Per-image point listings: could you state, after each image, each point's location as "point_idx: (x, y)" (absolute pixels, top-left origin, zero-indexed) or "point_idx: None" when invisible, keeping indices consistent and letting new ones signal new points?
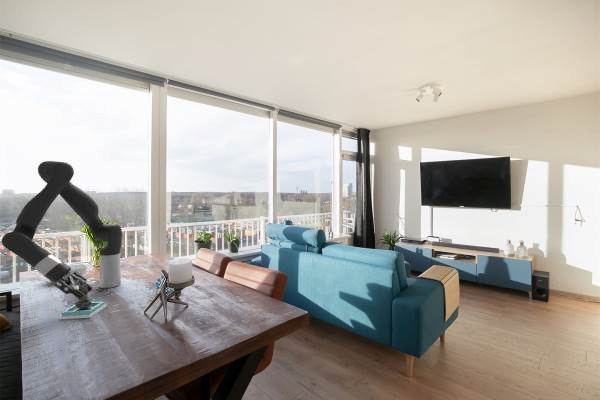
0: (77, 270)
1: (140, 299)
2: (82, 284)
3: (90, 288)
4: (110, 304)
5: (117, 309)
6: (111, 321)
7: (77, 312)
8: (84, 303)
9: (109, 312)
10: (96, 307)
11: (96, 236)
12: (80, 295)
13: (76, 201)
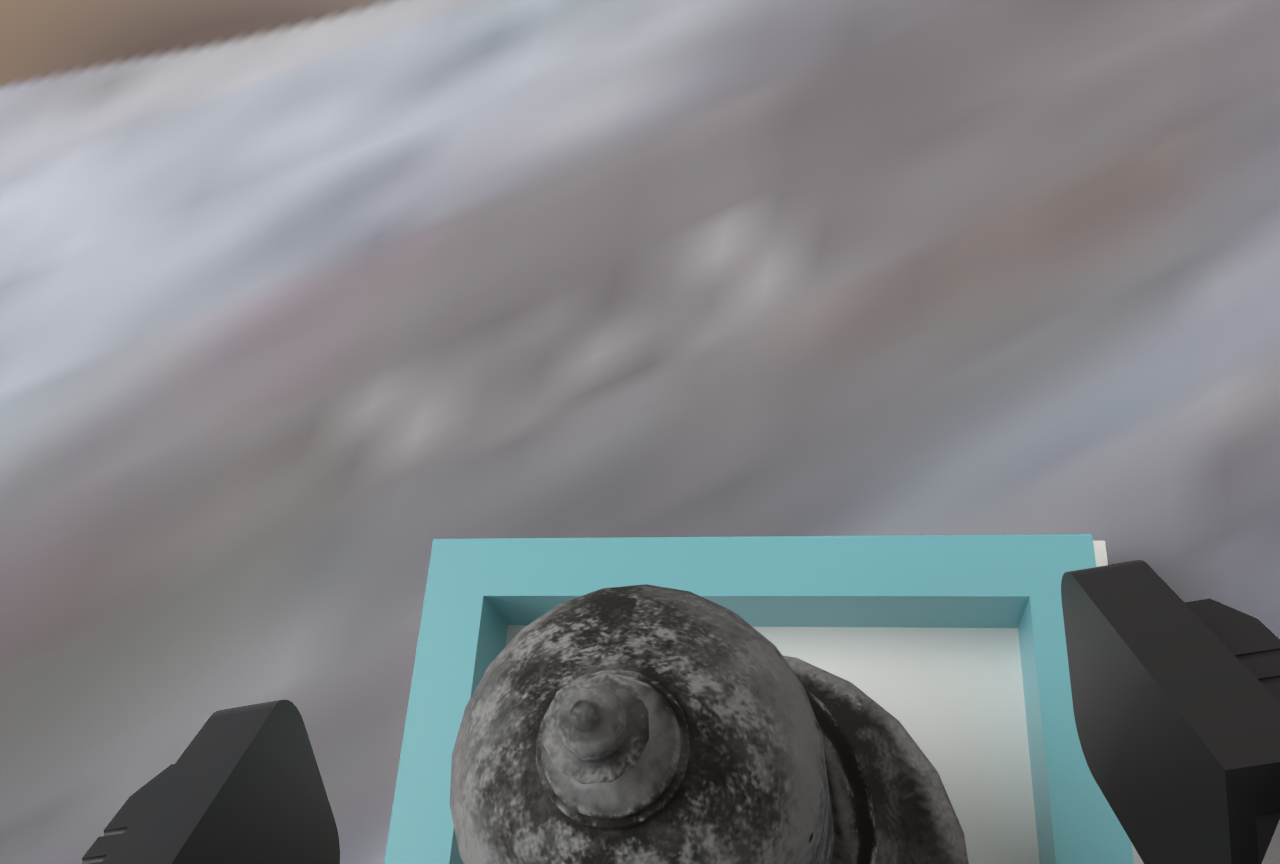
0: None
1: (236, 136)
2: (709, 729)
3: (284, 754)
4: (340, 546)
5: (679, 276)
6: (1273, 103)
7: (1128, 857)
8: (909, 744)
9: (821, 342)
10: (797, 545)
11: None
12: (1238, 623)
13: None
